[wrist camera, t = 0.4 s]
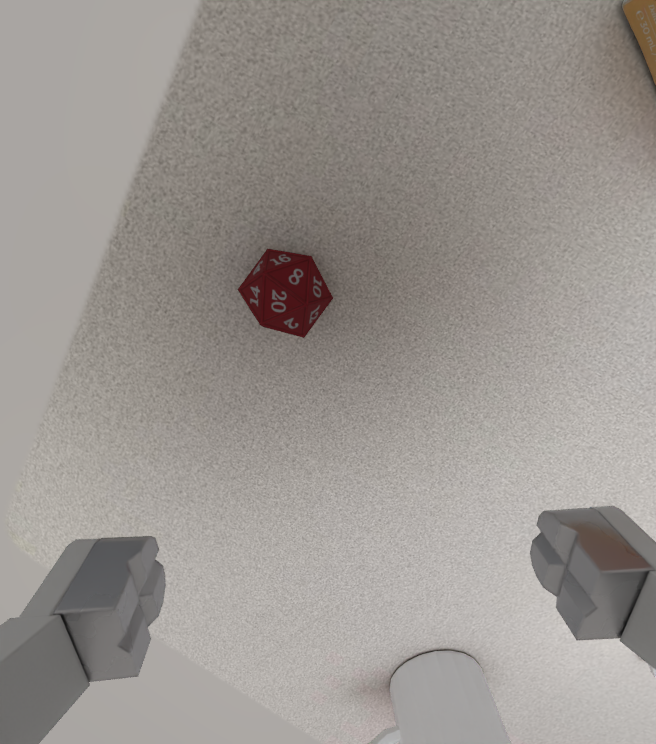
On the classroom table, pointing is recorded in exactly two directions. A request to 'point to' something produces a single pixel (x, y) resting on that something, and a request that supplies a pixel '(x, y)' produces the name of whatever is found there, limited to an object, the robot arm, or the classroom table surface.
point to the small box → (643, 28)
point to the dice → (286, 292)
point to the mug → (442, 703)
